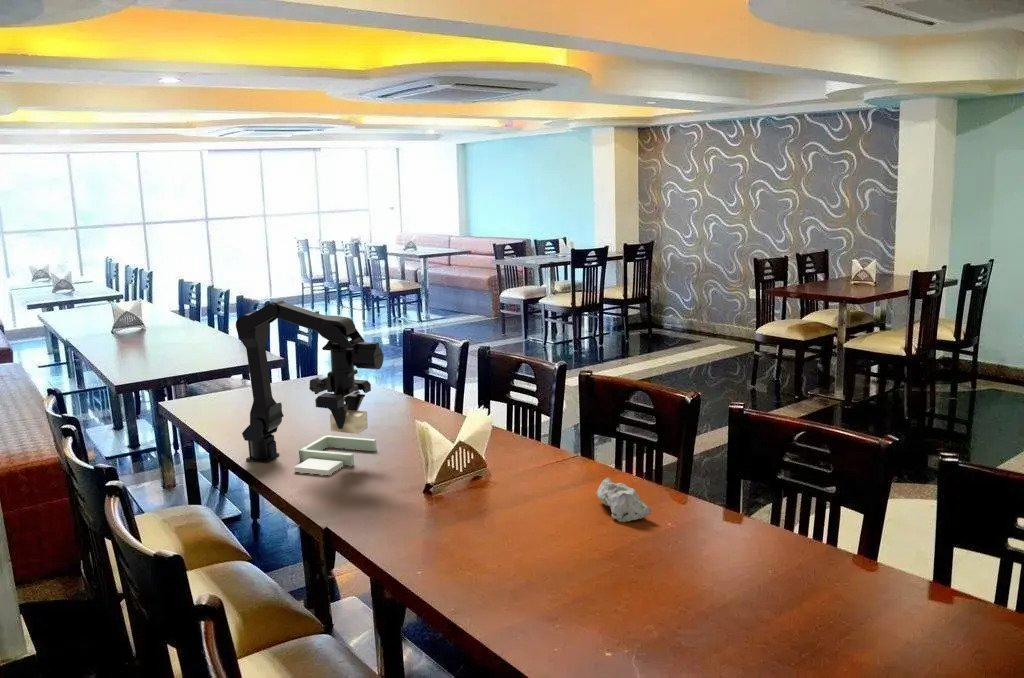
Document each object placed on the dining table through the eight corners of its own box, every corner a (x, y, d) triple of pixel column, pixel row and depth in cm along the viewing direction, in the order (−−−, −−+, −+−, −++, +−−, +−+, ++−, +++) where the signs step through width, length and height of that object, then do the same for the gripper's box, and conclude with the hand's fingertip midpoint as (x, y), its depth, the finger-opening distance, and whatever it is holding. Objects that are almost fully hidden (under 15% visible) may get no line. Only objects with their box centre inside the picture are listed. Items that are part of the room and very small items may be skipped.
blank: (330, 431, 211) (329, 414, 210) (340, 425, 215) (339, 409, 214) (358, 434, 208) (357, 417, 207) (367, 428, 213) (367, 411, 212)
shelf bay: (299, 461, 217) (298, 450, 216) (326, 445, 229) (325, 435, 229) (351, 466, 212) (351, 455, 211) (376, 449, 224) (375, 439, 224)
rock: (584, 503, 184) (583, 474, 182) (611, 496, 187) (611, 468, 185) (623, 528, 170) (623, 498, 169) (651, 521, 173) (651, 491, 172)
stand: (294, 472, 208) (294, 467, 208) (309, 463, 215) (309, 458, 215) (328, 476, 205) (328, 470, 205) (343, 466, 212) (342, 461, 211)
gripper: (333, 357, 220) (336, 413, 223) (295, 373, 202) (298, 433, 206) (370, 360, 217) (373, 416, 220) (334, 376, 199) (337, 437, 202)
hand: (345, 425), depth 212 cm, fingers closed on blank, 5 cm apart
